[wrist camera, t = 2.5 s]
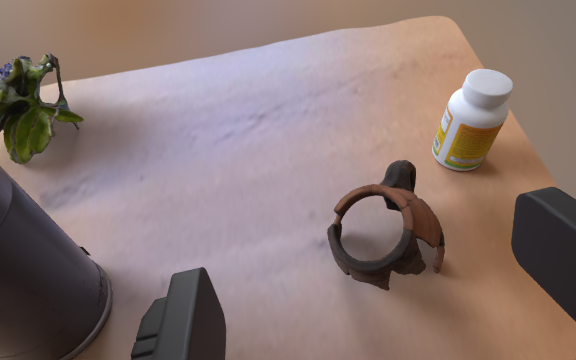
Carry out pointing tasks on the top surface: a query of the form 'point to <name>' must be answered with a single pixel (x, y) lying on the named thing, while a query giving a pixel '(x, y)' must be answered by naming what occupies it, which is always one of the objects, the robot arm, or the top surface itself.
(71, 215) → the top surface
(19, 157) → the passion flower
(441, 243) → the brown curved piece
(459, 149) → the supplement bottle
